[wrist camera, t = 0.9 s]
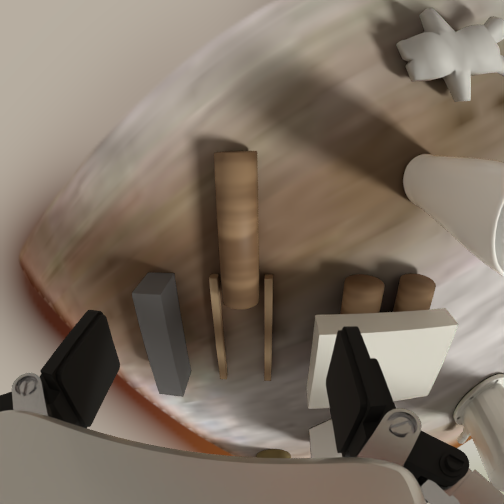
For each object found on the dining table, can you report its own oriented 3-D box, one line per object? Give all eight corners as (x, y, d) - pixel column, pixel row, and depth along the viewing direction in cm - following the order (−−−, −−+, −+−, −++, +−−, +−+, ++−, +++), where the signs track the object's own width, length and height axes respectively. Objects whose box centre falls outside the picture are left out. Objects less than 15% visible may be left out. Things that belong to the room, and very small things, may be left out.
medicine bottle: (307, 428, 40) (312, 495, 29) (348, 409, 38) (361, 478, 27) (331, 444, 42) (337, 504, 30) (368, 427, 40) (382, 488, 28)
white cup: (391, 212, 27) (478, 284, 13) (395, 142, 24) (500, 161, 11) (446, 214, 26) (542, 279, 13) (452, 150, 24) (562, 179, 10)
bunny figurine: (391, 8, 16) (509, 4, 12) (378, 24, 21) (486, 14, 16) (434, 109, 19) (541, 90, 15) (414, 110, 24) (515, 90, 19)
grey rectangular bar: (191, 371, 36) (183, 396, 32) (169, 369, 36) (159, 393, 32) (174, 273, 31) (160, 294, 27) (148, 272, 31) (131, 293, 27)
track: (398, 368, 34) (407, 389, 31) (221, 373, 36) (216, 396, 32) (425, 273, 29) (441, 290, 25) (210, 273, 31) (202, 293, 27)
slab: (419, 378, 30) (427, 395, 27) (306, 388, 31) (308, 408, 28) (445, 308, 26) (458, 324, 23) (315, 314, 27) (319, 334, 24)
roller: (259, 290, 31) (258, 309, 28) (225, 290, 31) (220, 309, 28) (257, 150, 26) (256, 152, 23) (217, 151, 26) (210, 154, 23)
